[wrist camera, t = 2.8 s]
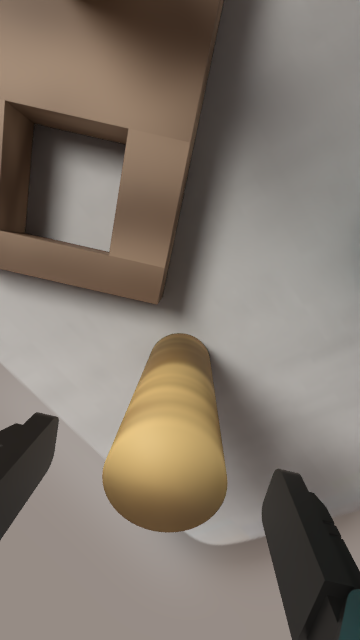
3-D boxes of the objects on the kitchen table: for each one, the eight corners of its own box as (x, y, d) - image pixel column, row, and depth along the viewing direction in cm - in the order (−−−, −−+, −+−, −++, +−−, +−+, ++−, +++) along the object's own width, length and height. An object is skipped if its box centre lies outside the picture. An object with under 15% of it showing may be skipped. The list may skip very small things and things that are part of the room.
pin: (156, 327, 18) (112, 415, 9) (216, 340, 18) (241, 443, 9) (144, 382, 19) (94, 518, 10) (202, 395, 19) (210, 543, 10)
